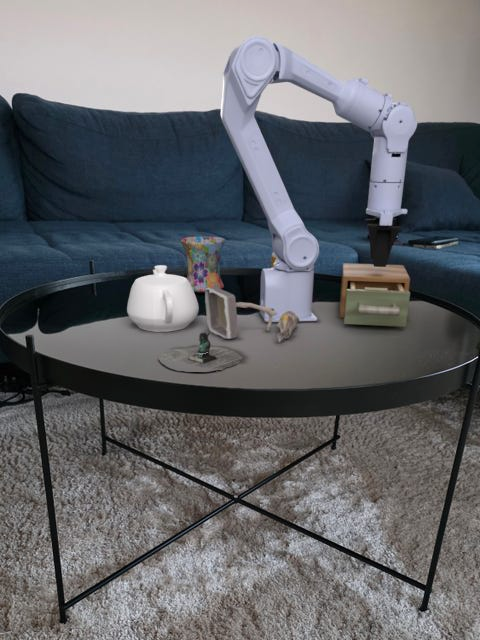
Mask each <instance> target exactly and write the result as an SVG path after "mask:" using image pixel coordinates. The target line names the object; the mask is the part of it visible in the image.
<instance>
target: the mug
mask: <svg viewBox="0 0 480 640" xmlns="http://www.w3.org/2000/svg"><path fill="white" fill-rule="evenodd" d="M180 243H181V245H182V247H183V250H184V253H185V256H186V261H187V275H186V276H187V277H186V278H187V280H188V281H189V283H190V284H191V286H192V288H193V291H194V293H198V294H205V289H206V288H209V287H217V288H220V289H221V290H223V289H224V287H225V286H224V283H223V280H222V278H221V271H220V263H221V255H222V252H223V248H224V246H225V243H226V239H225V238H223V237H218V236H203V235H202V236H189V237H184V238H182V239H180Z"/></svg>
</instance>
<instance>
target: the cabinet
mask: <svg viewBox="0 0 480 640" xmlns="http://www.w3.org/2000/svg"><path fill="white" fill-rule="evenodd" d="M350 281H366V282H393V283H401V284H402V287H403V289H404V291H410V285H411V284H410V283H411V277H410V276H409V274H408V272H407V269H406V267H405V266H404V265H403V264H387V265H386V267H374V265H373V263H347V262H346V263H345V262H343V263H342V273H341V284H340V285H341V286H340V297H339V298H340V300H339V318H340V319H344V317H345V305H346V293H347V289H349V284H350Z"/></svg>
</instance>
